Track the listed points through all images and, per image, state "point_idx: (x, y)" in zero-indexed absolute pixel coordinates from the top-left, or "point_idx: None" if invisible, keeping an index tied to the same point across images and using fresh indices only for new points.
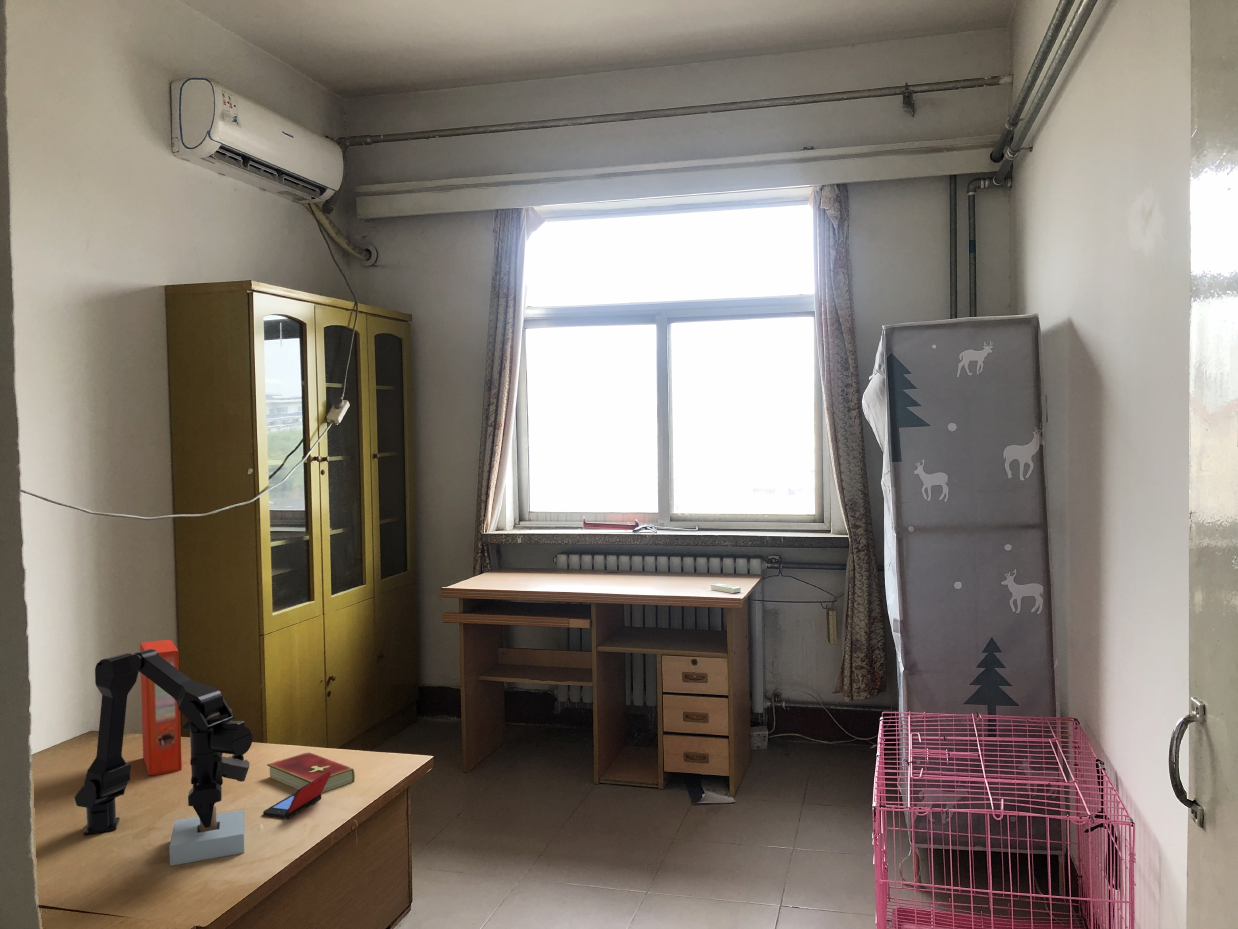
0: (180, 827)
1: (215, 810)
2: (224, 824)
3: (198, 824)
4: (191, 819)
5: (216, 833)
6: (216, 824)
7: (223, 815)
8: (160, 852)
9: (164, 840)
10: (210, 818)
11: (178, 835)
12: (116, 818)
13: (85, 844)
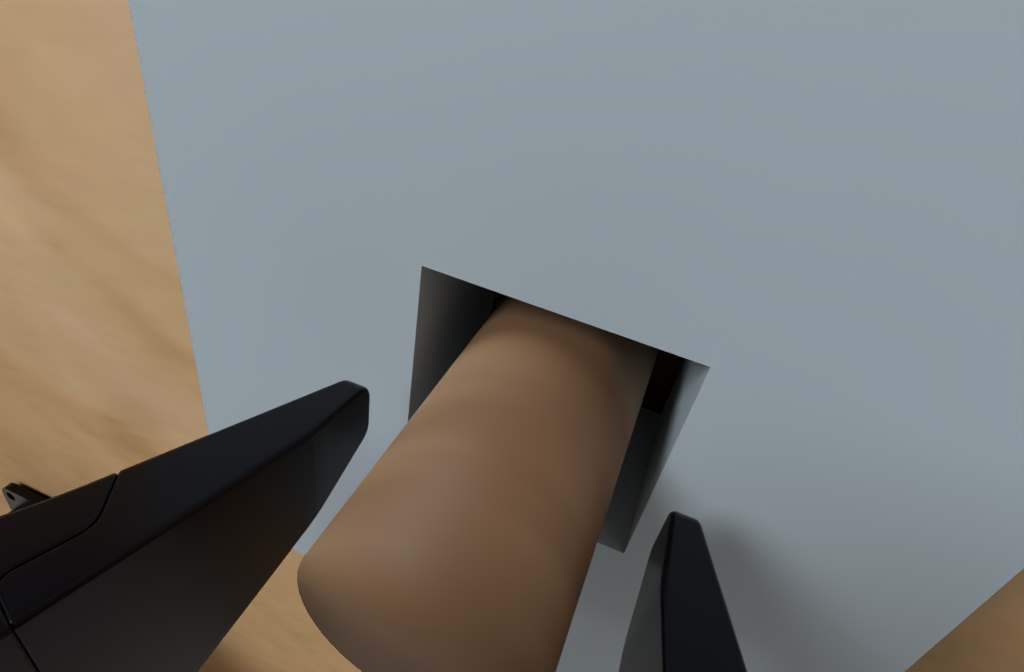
0: None
1: (491, 551)
2: (577, 260)
3: None
4: None
5: (854, 451)
6: (548, 362)
7: (239, 168)
8: None
9: None
10: (738, 668)
11: (567, 644)
12: (10, 496)
13: (229, 635)
